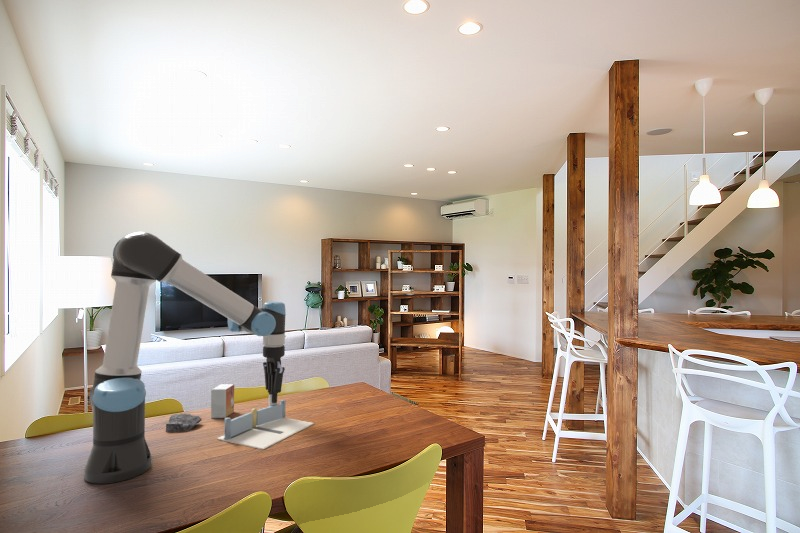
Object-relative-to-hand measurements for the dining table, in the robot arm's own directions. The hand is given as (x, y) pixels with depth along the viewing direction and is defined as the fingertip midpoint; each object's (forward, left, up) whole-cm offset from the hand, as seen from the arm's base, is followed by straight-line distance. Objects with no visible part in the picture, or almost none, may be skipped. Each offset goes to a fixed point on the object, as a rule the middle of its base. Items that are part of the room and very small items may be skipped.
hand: (272, 411), depth 158 cm
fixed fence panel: (-15, 0, -3) cm, 16 cm away
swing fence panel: (-3, -1, -3) cm, 4 cm away
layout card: (-9, -6, -3) cm, 11 cm away
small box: (-3, +21, -4) cm, 22 cm away
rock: (-18, +23, -4) cm, 30 cm away
